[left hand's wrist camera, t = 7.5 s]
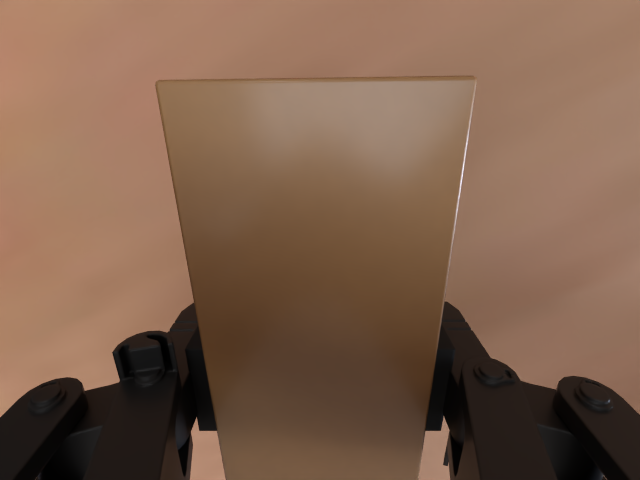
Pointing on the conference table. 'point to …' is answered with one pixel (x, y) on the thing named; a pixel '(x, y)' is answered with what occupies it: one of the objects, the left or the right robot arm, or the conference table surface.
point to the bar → (318, 261)
